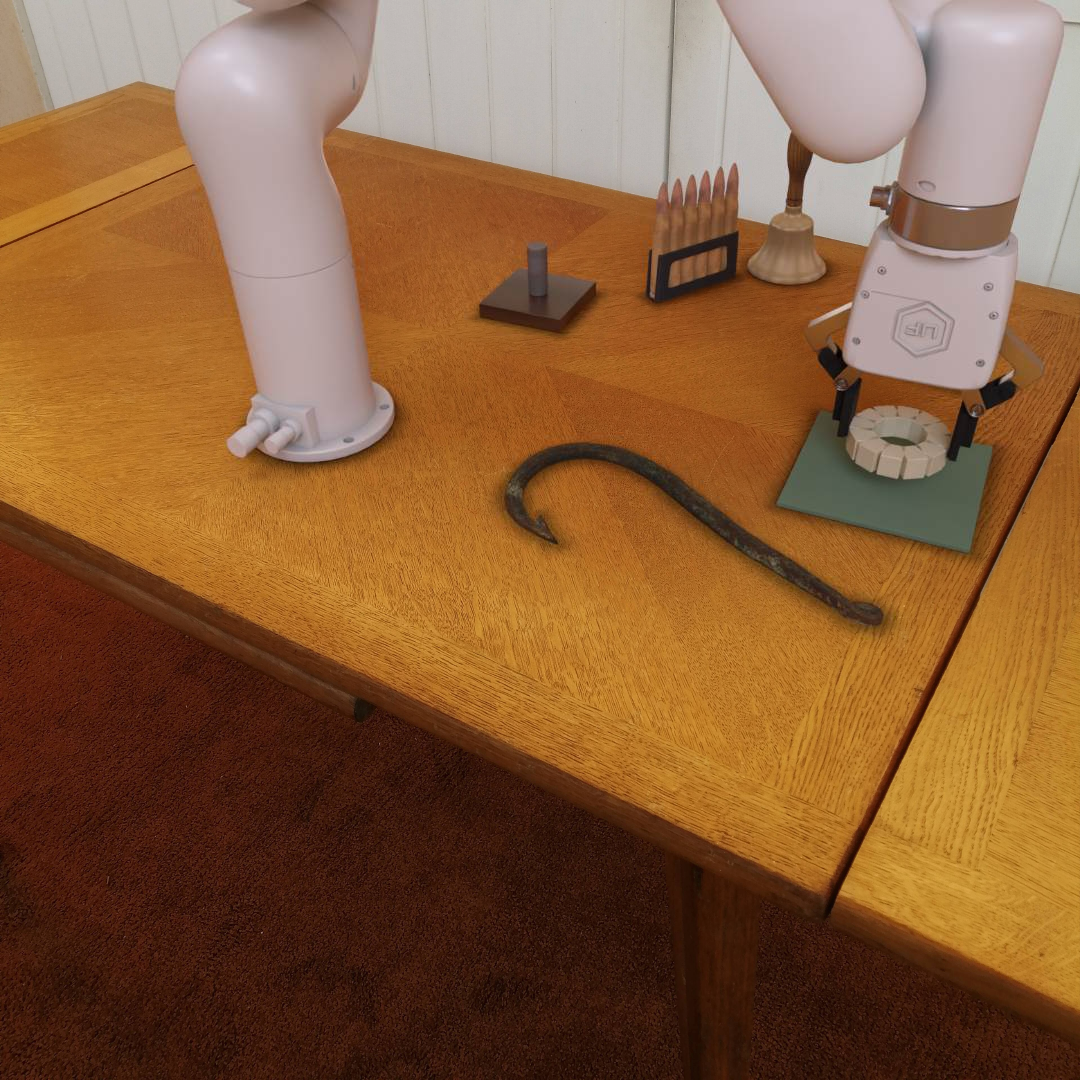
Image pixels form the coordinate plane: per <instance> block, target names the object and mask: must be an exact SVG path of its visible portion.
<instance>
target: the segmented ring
mask: <svg viewBox="0 0 1080 1080" xmlns="http://www.w3.org/2000/svg"><path fill="white" fill-rule="evenodd" d="M952 435H953V433H952V432H951V430H950V429H949V427H948V426H947V425H946V423H945V422H941V419H940V418H938V417H936V416H935V415H933V414H930V413H929V412H926V411H922V412H920V409H918V408H914V407H909V406H904V405H897V408H896V407H895V405H894V404H891V405H890V404H889V405H878V406H877V405H876V406H873V408H871V407H868V408H866V409H864V410H861V411H860V412H858V413H855V416H854V417H853V420H852V422H851V424H850V427H849V432H848V435H847V439H846V450H847V452H848V453H849V455H850V457H851V459H852V460H856V461H855V463H856V464H858V465H859V466H861V467H863V468H864V469H866V470H868V471H869V472H873V471H875V470H877V472H876V474H877V475H882V476H886V477H891V478H895V479H898V477H899V474H900V475H901V477H902V478H903V479H917V478H924V475H926V476H928V477H929V476H931V475H933V474H934V473H936V472H938V471H940V470H942V468H943V467H944V466H945V464H946V460H947V458H946V457H947V454H948V450H949V446H950V443H951V439H952ZM891 436H894V437H899V438H903V439H908V440H909V441H911V442H913V443H915V444H917V445H915V446H898V445H894V444H889V443H887V442H886V441H884V440H882V439H880V437H891Z"/></svg>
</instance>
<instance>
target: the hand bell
mask: <svg viewBox="0 0 1080 1080" xmlns="http://www.w3.org/2000/svg"><path fill="white" fill-rule="evenodd" d="M790 131H791V130H790ZM813 156H814V153H812V152H811V151H810V150H809V149H807V148H806V147H805V146H804V145H803V144H802V143H801V142H800V141H799V140H798V139H797V138H796V137H795V135H794V134H793V133H792V131H791V132H790V134H789V138H788V142H787V149H786V163H787V171H788V185H787V192H786V198H785V207H784V211H783V212H780V213H777V214H775V215H774V216H773V217H772V218H771V219H770V221H769V222H770V223H769V226H768V229H767V234H766V237H765V239H764V242H763V244H762V246H761V247H760V249H759V250H758V251H757V252H755V253H754V254H753V255H751V257H750V258H749V260H748V262H747V264H746V265H747V267H746V268H747V270H748V271H749V273H750V274H751V275H752V276H754V277H755V278H757V279H759V280H761V281H764V282H767V283H772V284H777V285H785V286H786V285H787V286H795V285H796V286H797V285H804V284H810V283H813V282H815V281H818V280H819V279H821V278H822V277H823V276H825V274H826V272H827V266H826V263H825V261H824V259H823V258H822V257H821V256H820V255H819V253H818V251H817V249H816V245H815V236H814V233H815V232H814V227H815V226H814V225H815V222H814V219H813V218H812V217H811V216H810V215H808V214H806V213H804V212H803V203H804V199H803V198H804V188H805V180H806V176H807V173H808V171H809V169H810V167H811V164H812V161H813Z"/></svg>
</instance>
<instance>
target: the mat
mask: <svg viewBox="0 0 1080 1080" xmlns="http://www.w3.org/2000/svg"><path fill="white" fill-rule="evenodd" d="M832 415H833V412H831V411H827V410H822V409H820V410H819V412H818V414H817V416H816V418H815V421H814V423H813V424H812V427H811V429H810V431H809V433H808V435H807V437H806V439H805V441H804V444H803V446H802V448H801V450H800V452H799V454H798V457H797V458H796V461H795V463H794V465H793V467H792V469H791V471H790V473H789V475H788V478H787V479H786V482H785V483H784V486H783V488H782V490H781V492H780V494H779V497H778V499H777V501H776V504H775V505H776V507H780V508H783V509H788V510H791V511H795V512H800V513H802V514H803V513H804V514H808V515H811V516H816V517H820V518H824V519H828V520H832V521H836V522H840V523H844V524H847V525H852V526H855V527H860V528H864V529H869V530H873V531H877V532H880V533H884V534H888V535H891V536H892V535H893V536H896V537H901V538H904V539H909V540H911V541H912V540H913V541H916V542H920V543H924V544H928V545H932V546H936V547H940V548H945V549H948V550H953V551H956V552H960V553H965V554H970V551H971V548H972V544H973V540H974V535H975V531H976V526H977V521H978V516H979V513H980V508H981V505H982V499H983V495H984V491H985V485H986V481H987V477H988V473H989V467H990V463H991V459H992V455H993V450H994V446H993V445H987V444H983V443H978V442H974V441H972V443H971V447H970V448H967V447H962V446H960V449H959V452H958V456H957V459H956V462H954V461H949V458H947V460H946V464H945V466H944V467H943V468H942V470H940V471H938V472H936V473H934V474H933V475H931V476H929V477H928V476H926V475H924V478H917V479H903V478H902V477H901V475H900V474H899V477H898V479H895V478H891V477H886V476H882V475H877V474H876V472H877V470H875V471H873V472H869V471H868V470H866V469H864V468H863V467H861V466H859V465H858V464H856V463H855V461H856V460H852V459H851V457H850V455H849V453H848V452H847V450H846V439H847V437H846V436H844V438H842V437H837V432H838V427H839V422H840V421H837V420H832ZM880 439H882V440H884V441H886V442H887V443H889V444H894V445H898V446H915V445H917V444H915V443H913V442H911V441H909V440H908V439H903V438H899V437H894V436H891V437H880Z"/></svg>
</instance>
